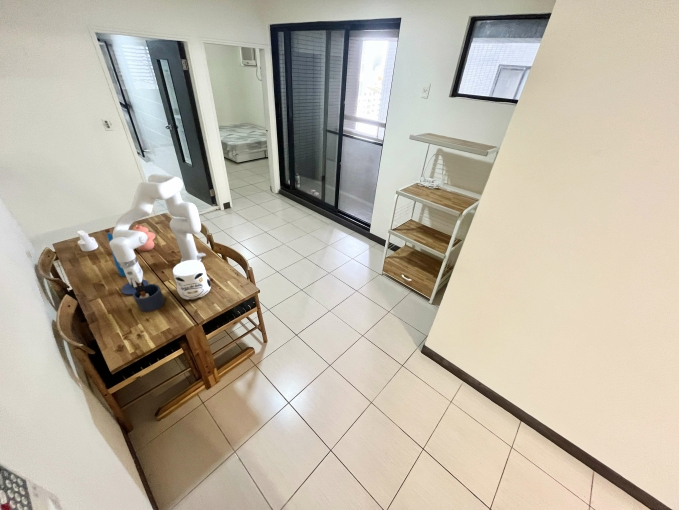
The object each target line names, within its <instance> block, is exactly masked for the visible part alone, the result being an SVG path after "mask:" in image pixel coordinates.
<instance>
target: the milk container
mask: <svg viewBox="0 0 679 510" xmlns="http://www.w3.org/2000/svg"><path fill="white" fill-rule="evenodd" d="M172 274H173V278H174V280H175V283H176V291H177V294H178V296H179V297H181V298H182V299H184V300H187V301H189V300H190V301H193V300H198V299H201V298H203V297H205V296H206V295H208V293H209V292H210V291H211V288H212V283H211V280H210V277H208V275H207V271H206V268H205V266H204V263H203V262H202V261H198V260H187V261H184V262H181V261H180V262H179V263H177V264H176V265H175V266H174V267H173V269H172Z"/></svg>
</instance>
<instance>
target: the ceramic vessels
mask: <svg viewBox="0 0 679 510" xmlns="http://www.w3.org/2000/svg"><path fill="white" fill-rule="evenodd" d="M132 230H133V231H141V232H144V233H145V234H146V235H147V241H146V243H145V244H144V245H142V246H140V247H138V248H137V249H138V250H139V251H141V252H142V251H143V252H150V251H152V249H154V248H155V242H154V239H156V234H155V232H152V231H149V228H148V227H147V226H142V224H136V225H135V226H133V228H132Z"/></svg>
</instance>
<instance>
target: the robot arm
mask: <svg viewBox="0 0 679 510" xmlns="http://www.w3.org/2000/svg"><path fill="white" fill-rule="evenodd" d="M183 187H184V184H183V180H182V179H181V178H180V177H179V176H175V175H167V174H158V173H157V174H156V173H155V174H150V175H149V176H148V177H147V181H142V182H140V183H138V185H137V188H136V191H135V194H134V197H133V200H132V203H131V206H130V208H129V210H127V211H125V212H124V213H123V214H122V215H121V216H120V217H119V218H118V219H117V221H116V222H115V225H114V228H113V231H112V236H113V239H112V240H111V241H110V243H109V242H108V245H109V248H110V250H111V249H112V250H111V252H112V251H113V254H114V256H115V258H116V260H117V262H118V264H119V266H120V267H121V268H123V270H124V272H125V275H126V276H125V277H126V279H127V281H128V282H127V283H130V284H131V285H132V283H133V286H134V288H135V289H136V291H137V292H143V291H144V288H145V286H144V284H143V282H142V279H143V278H144V271H143V269H142V267H141V266H140V264H139V260H138V258H137V255H136V253H135V251H134V250H135V249H138V247H140V246H142V245H144V244H145V243H146V241H147V235H146V234H145V233H144V232H141V231H133V229H130V227H131V225H133V223H134V222H137V221H138V220H140V219H143V218H146V217H149V216H150V215H152V212H153V209H154V205H155V201H156V200H160V201H164V202H165V205H166V208H167V211H168V214H169V215H170V216H172V217H173V218H172V219H170V221H169V228H170V230H171V232H172V234H173V236H174V238H175V241H176V243H177V246H178V249H179V252H180V255H181V258H180V263H181V262H184V261H187V260H198V261H200V262H202V258H205V257H207V255H206V253H204V252H199V251H198V250H197V246H196V243H195V240H194V236H193V235H198V234H200V232H201V231H202V223H201V219H200V214H199V211H198V210H199V209H198V207H197V206H196V204H194V203H193V202H191V201H184V200H183V199H182V196H181V191H182V190H183ZM113 254H112V255H113ZM136 283H139V284H136Z"/></svg>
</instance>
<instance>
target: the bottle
mask: <svg viewBox="0 0 679 510" xmlns="http://www.w3.org/2000/svg"><path fill="white" fill-rule="evenodd" d="M104 232H105V233H106V235H107V240H108V244H109V243H110V241H111V240H112V239H113V234H112V233H111V231H110V228H107V229H105V230H104ZM110 250H111V253H112V257H113V261H114V264H115V267H116V269H117V271H118V273H119V275H120V276H121V277H126V275H125V272H124V270H123V268H121V267H120V266H119V264H118V262H117V260H116V258H115V256H114V254H113V251H112V249H111V248H110Z"/></svg>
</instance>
